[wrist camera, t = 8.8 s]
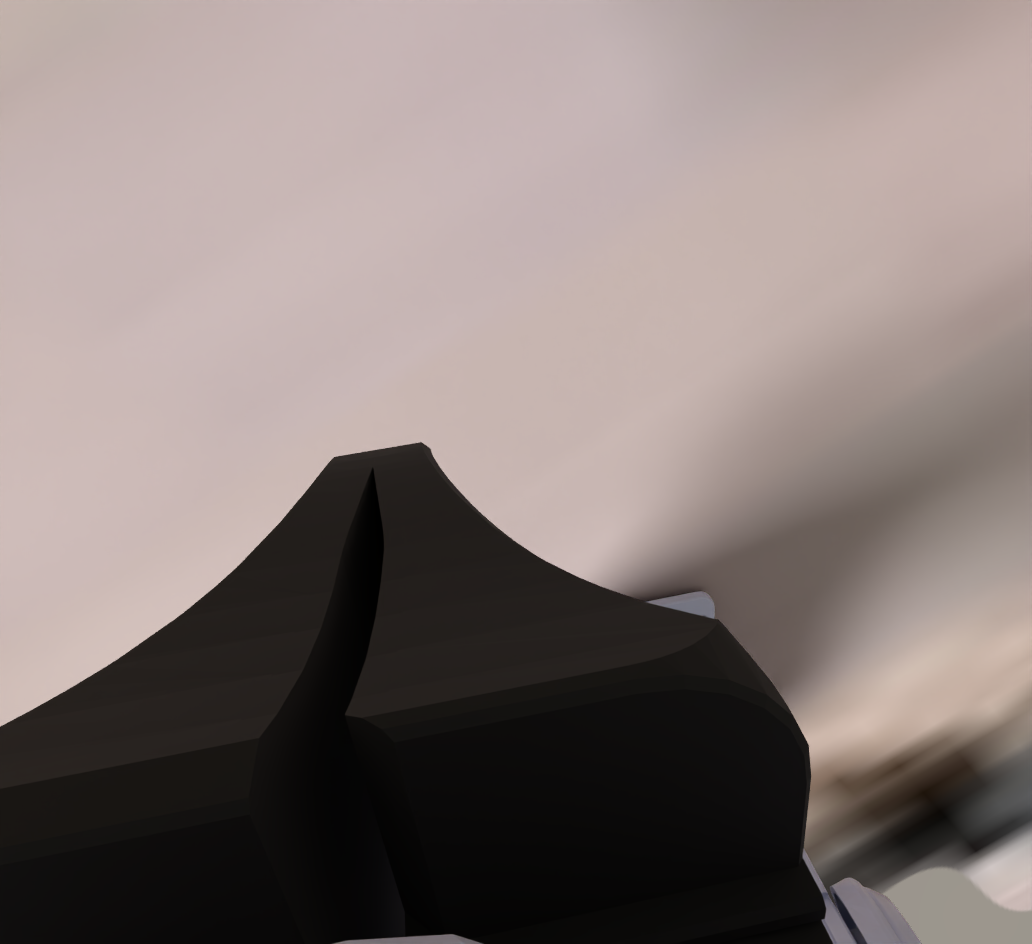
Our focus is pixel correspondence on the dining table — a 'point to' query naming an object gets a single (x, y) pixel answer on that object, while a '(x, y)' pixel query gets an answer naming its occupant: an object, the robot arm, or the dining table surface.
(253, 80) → the dining table surface
